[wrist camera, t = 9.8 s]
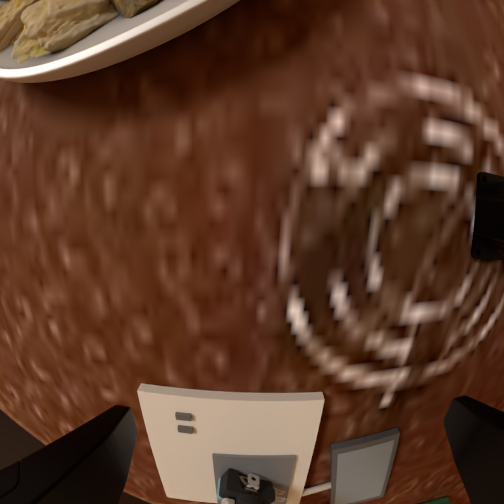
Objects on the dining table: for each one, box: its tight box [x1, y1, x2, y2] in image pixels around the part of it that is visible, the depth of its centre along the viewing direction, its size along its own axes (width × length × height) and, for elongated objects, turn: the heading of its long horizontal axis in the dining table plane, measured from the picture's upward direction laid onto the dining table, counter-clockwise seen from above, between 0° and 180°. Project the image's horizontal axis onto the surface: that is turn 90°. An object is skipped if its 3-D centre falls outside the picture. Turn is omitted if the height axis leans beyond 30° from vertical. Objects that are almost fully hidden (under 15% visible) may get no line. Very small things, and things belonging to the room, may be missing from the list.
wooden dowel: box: [301, 482, 331, 497], centre depth 24 cm, size 13×1×1 cm, turn 114°
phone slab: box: [329, 428, 400, 504], centre depth 23 cm, size 6×12×1 cm, turn 9°
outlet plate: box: [137, 383, 324, 504], centre depth 22 cm, size 14×16×1 cm
